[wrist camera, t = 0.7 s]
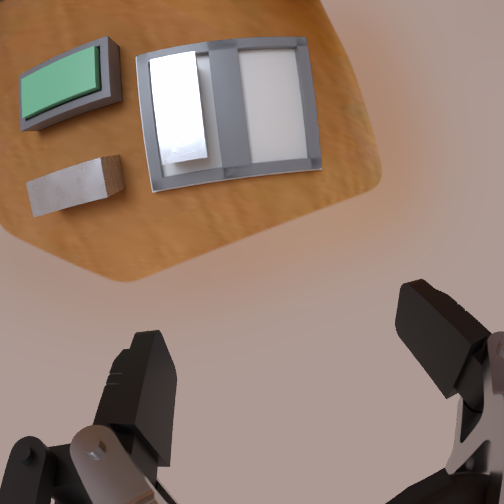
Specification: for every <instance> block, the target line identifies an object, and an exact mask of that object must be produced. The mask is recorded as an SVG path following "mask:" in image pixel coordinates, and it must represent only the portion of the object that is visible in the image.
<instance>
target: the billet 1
mask: <svg viewBox="0 0 504 504" xmlns="http://www.w3.org/2000/svg"><path fill="white" fill-rule="evenodd" d="M26 185H27V190H28V195H29V199H30V204H31V208H32V212H33V216H34V217H37V216H41V215H44V214H47V213H51V212H54V211H58V210H61V209H65V208H68V207H72V206H76V205H79V204H83V203H87V202H91V201H95V200H99V199H103V198H107V197H109V196H111V195H113V194H115V193H117V192H119V191H121V190H123V189H124V188H125V183H124V178H123V172H122V166H121V160H120V155H114V156H107V157H101V158H97V159H94V160H90V161H87V162H84V163H81V164H77V165H74V166H71V167H68V168H65V169H62V170H59V171H56V172H53V173H51V174H48V175H45V176H42V177H40V178H37V179H34V180H32V181H29V182H27V183H26Z"/></svg>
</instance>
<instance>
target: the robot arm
mask: <svg viewBox="0 0 504 504" xmlns="http://www.w3.org/2000/svg"><path fill="white" fill-rule="evenodd" d="M395 326H396V331H397V334H398V336H399V337H400V338H401V340H402V341H403V342H404V343H405V345H406V346H407V347H408V348H409V350H410V351H411V352H412V354H413V355H414V356H415V358H416V359H417V360H418V362H419V363H420V364H421V365H422V367H423V368H424V369H425V371H426V372H427V373H428V374H429V376H430V377H431V379H432V380H433V381H434V383H435V384H436V385H437V387H438V388H439V390H440V391H441V392H442V394H443V395H444V396H445V398H446V399H447V398H449V397H451V396H453V395H455V394H457V393H459V394H460V395H461V397H460V399H459V401H458V410H457V423H456V431H455V440H454V447H453V451H452V454H451V456H450V458H449V460H448V462H447V464H446V467H445V468H443V469H441V470H440V471H438V472H436V473H434V474H433V475H431V476H429V477H427V478H425V479H424V480H421V481H420V482H417V483H415V484H413V485H411V486H409V487H408V488H406V489H405V490H404V491H402V492H401V493H400V494H398V495H397V496H396V497H395V498H393V499H392V500H390V501H389V502H387V503H386V504H504V332H495V333H493V334H492V333H491V332H489V331H488V330H487V329H486V328H485V327H484V326H483V325H482V324H481V323H480V322H478V320H476V319H475V318H474V317H473V316H472V315H471V314H470V313H468V312H467V311H465V309H464V308H463V307H461V305H459V304H457V302H456V301H455V300H454V299H452V298H451V297H450V296H449V295H447V294H445V293H443V292H441V291H439V290H436V289H435V288H433V287H432V286H431V285H430V284H429V283H427V282H426V281H425V280H423V279H419V280H415V281H412V282H408V283H404V284H403V285H402V286H401V288H400V294H399V300H398V308H397V313H396V319H395ZM176 386H177V375H176V369H175V366H174V363H173V361H172V359H171V356H170V354H169V351H168V349H167V346H166V343H165V341H164V338H163V336H162V334H161V332H160V331H159V330H155V331H145V332H137V333H135V335H134V338H133V340H132V343H131V347H130V349H123V350H122V352H121V353H120V354H119V355H118V356H117V358H116V359H115V360H114V362H113V364H112V367H111V370H110V375H109V376H108V379H107V382H106V386H105V387H104V390H103V394H102V397H101V400H100V403H99V406H98V409H97V412H96V416H95V419H94V423H93V425H91V426H87V427H85V428H83V429H82V430H80V431H79V432H78V433H77V434H76V435H75V436H74V438H73V439H72V442H71V443H70V444H65V445H59V446H53V447H47V446H46V445H45V444H44V443H43V442H42V441H41V440H40V439H38V438H36V437H33V436H27V437H24V438H22V439H20V440H19V441H18V442H16V443H15V445H14V446H13V448H12V450H11V453H10V456H9V459H8V462H7V466H6V469H5V473H4V476H3V480H2V484H1V488H0V504H50V503H51V498H53V499H54V500H55V504H179V503H178V502H177V501H176V500H175V499H174V498H173V497H172V495H171V494H170V493H169V492H168V490H167V489H166V488H165V487H164V486H163V484H162V483H161V482H160V481H159V479H158V478H157V467H158V466H160V467H170V458H171V443H172V429H173V417H174V405H175V395H176Z"/></svg>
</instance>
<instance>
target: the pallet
mask: <svg viewBox="0 0 504 504" xmlns="http://www.w3.org/2000/svg"><path fill="white" fill-rule="evenodd" d="M193 51H195V55H196V59H197V63H198V67H199V75H200V84H201V92H202V101H203V109H204V117H205V125H206V133H207V141H208V148H209V156H208V157H206V158H199V159H193V160H187V161H182V162H176V163H171V164H165V165H162V161H161V154H160V147H159V140H158V133H157V125H156V117H155V109H154V100H153V90H152V79H151V68H150V60H152V59H156V58H161V57H166V56H170V55H176V54H181V53H187V52H193ZM136 69H137V81H138V93H139V103H140V112H141V120H142V128H143V136H144V143H145V150H146V157H147V163H148V169H149V175H150V181H151V187H152V192H159V191H164V190H169V189H175V188H181V187H187V186H193V185H199V184H205V183H211V182H218V181H225V180H232V179H240V178H247V177H255V176H264V175H272V174H282V173H292V172H302V171H314V170H322V163H321V150H320V139H319V129H318V119H317V110H316V101H315V93H314V86H313V78H312V71H311V64H310V58H309V52H308V46H307V40H306V37H252V38H237V39H226V40H217V41H209V42H201V43H195V44H189V45H183V46H177V47H172V48H167V49H162V50H158V51H153V52H149V53H145V54H141V55H137V57H136Z"/></svg>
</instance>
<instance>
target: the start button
mask: <svg viewBox="0 0 504 504" xmlns="http://www.w3.org/2000/svg"><path fill="white" fill-rule="evenodd" d="M98 90H101V79H100V55H99V49H98V48H97V47H95V46H92V47H90V48H87V49H84V50H82V51H79V52H77V53H74V54H72V55H70V56H67V57H65V58H63V59H60V60H58V61H56V62H54V63H52V64H50V65H48V66H46V67H44V68H42V69H40V70H38V71H36V72H34V73H32V74H30V75H28V76H26V77H25V78H23V79H21V98H22V118H31V117H33V116H36V115H38V114H40V113H42V112H44V111H46V110H49V109H51V108H53V107H56V106H58V105H60V104H63V103H65V102H68V101H70V100H73V99H76V98H78V97H81V96H84V95H86V94H89V93H92V92H95V91H98Z"/></svg>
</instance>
